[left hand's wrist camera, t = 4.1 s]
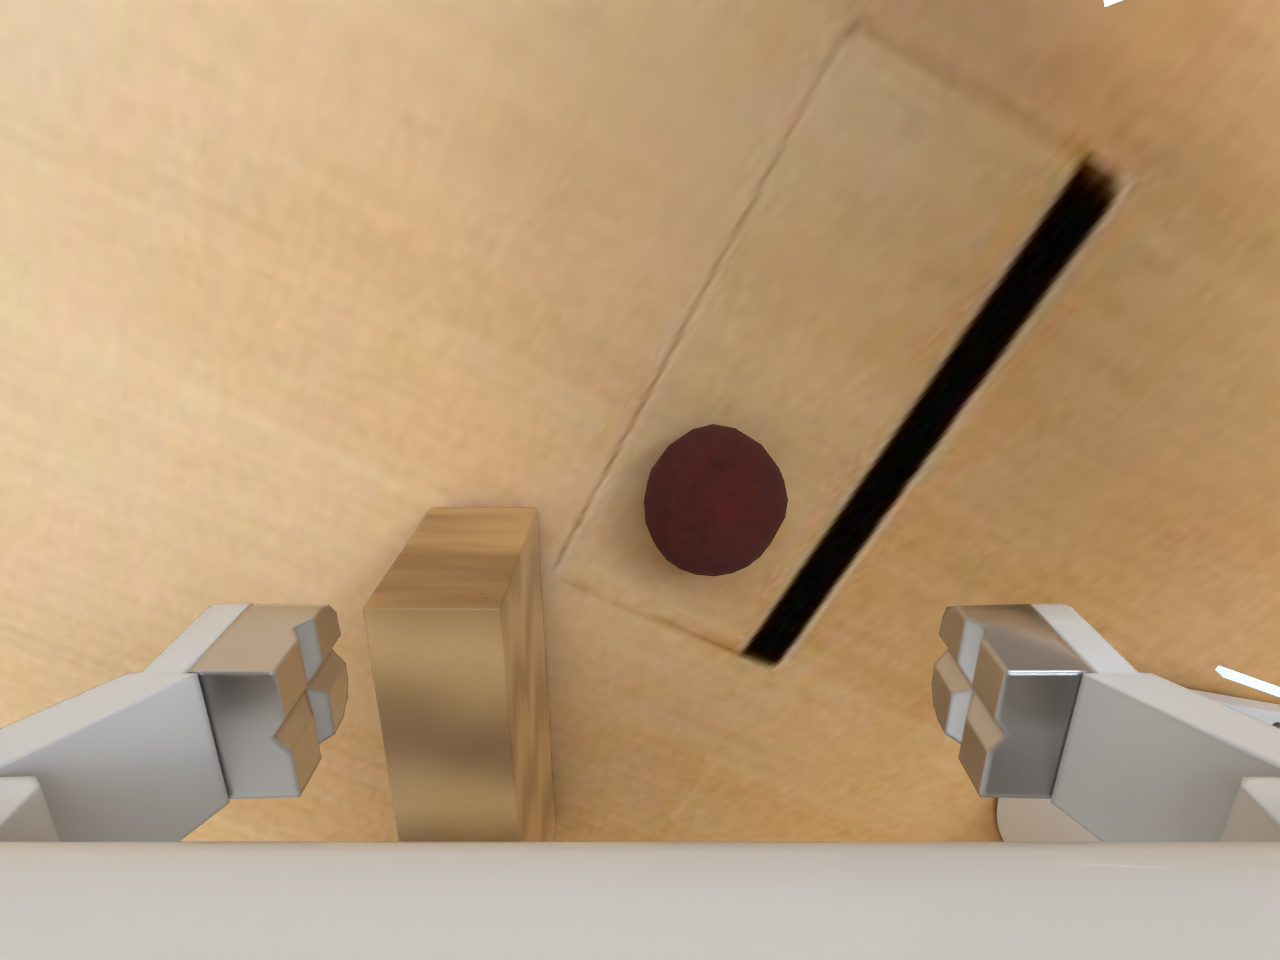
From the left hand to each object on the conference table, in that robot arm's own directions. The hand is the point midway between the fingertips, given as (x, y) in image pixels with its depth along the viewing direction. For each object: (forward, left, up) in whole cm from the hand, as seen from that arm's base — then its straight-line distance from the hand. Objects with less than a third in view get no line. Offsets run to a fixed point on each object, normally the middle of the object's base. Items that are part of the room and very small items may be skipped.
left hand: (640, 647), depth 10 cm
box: (+9, +24, -31) cm, 40 cm away
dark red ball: (-4, +10, -31) cm, 33 cm away
